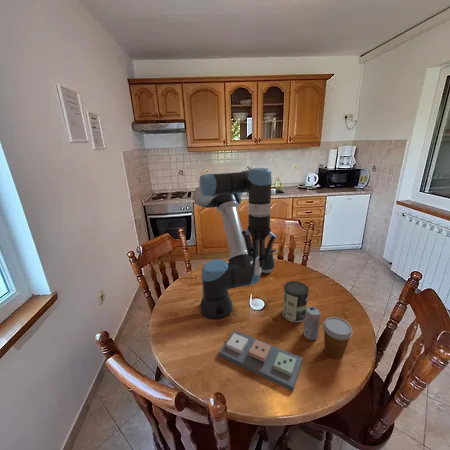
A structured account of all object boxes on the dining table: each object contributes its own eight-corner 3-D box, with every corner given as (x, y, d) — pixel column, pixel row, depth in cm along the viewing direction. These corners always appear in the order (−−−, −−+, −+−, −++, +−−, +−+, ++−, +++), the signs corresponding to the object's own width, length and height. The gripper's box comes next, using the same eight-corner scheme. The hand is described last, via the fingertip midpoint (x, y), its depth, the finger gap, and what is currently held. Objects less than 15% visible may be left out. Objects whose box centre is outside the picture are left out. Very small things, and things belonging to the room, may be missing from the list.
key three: (273, 372, 80) (273, 364, 79) (278, 358, 85) (279, 351, 83) (290, 380, 77) (291, 372, 76) (295, 366, 82) (296, 358, 80)
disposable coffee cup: (324, 337, 94) (328, 312, 90) (351, 349, 88) (356, 323, 84) (316, 353, 87) (319, 327, 83) (344, 367, 81) (349, 340, 77)
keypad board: (219, 356, 87) (218, 352, 86) (234, 334, 97) (234, 330, 96) (292, 391, 74) (293, 387, 73) (302, 362, 84) (302, 357, 83)
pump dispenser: (274, 276, 137) (275, 252, 132) (256, 274, 139) (256, 251, 134) (274, 267, 146) (275, 245, 141) (257, 266, 149) (258, 243, 144)
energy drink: (314, 330, 97) (317, 305, 94) (320, 340, 92) (323, 314, 88) (301, 330, 97) (304, 306, 93) (306, 340, 92) (309, 315, 88)
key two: (248, 358, 84) (248, 351, 83) (255, 346, 89) (255, 339, 87) (264, 365, 81) (265, 358, 80) (270, 353, 86) (271, 345, 85)
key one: (226, 350, 88) (226, 343, 87) (234, 339, 93) (234, 332, 92) (241, 357, 86) (241, 350, 84) (248, 345, 90) (248, 338, 89)
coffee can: (304, 308, 110) (307, 281, 106) (307, 324, 101) (310, 295, 96) (282, 305, 112) (283, 280, 108) (282, 321, 103) (284, 293, 98)
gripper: (237, 214, 83) (238, 274, 90) (273, 219, 76) (271, 282, 84) (246, 209, 89) (246, 265, 96) (280, 213, 82) (278, 273, 90)
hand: (258, 273), depth 90 cm, fingers closed
